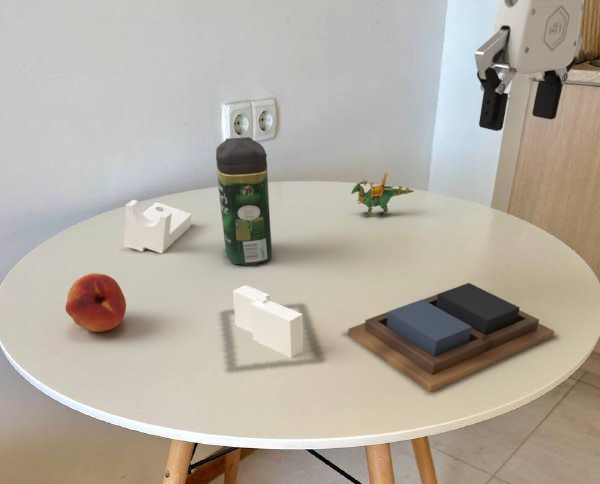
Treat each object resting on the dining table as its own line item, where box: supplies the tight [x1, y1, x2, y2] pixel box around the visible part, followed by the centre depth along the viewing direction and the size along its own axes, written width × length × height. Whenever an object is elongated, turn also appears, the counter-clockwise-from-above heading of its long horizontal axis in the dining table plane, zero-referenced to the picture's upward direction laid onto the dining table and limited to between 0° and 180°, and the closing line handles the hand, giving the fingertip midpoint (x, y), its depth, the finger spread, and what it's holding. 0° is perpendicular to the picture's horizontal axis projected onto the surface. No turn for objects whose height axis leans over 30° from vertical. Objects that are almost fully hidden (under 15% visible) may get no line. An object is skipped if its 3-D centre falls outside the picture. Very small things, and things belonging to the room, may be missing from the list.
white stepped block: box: [232, 284, 304, 359], centre depth 78 cm, size 15×11×6 cm
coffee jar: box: [215, 136, 273, 266], centre depth 96 cm, size 10×8×19 cm
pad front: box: [387, 298, 472, 357], centre depth 76 cm, size 9×6×3 cm, turn 33°
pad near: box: [436, 282, 520, 335], centre depth 80 cm, size 9×6×3 cm, turn 33°
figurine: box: [351, 172, 415, 218], centre depth 114 cm, size 3×12×8 cm, turn 87°
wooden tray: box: [347, 293, 555, 393], centre depth 78 cm, size 16×22×2 cm
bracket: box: [123, 199, 193, 254], centre depth 106 cm, size 13×7×8 cm, turn 166°
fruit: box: [65, 272, 127, 333], centre depth 80 cm, size 8×8×8 cm
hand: (517, 122), depth 73 cm, fingers open, 9 cm apart
